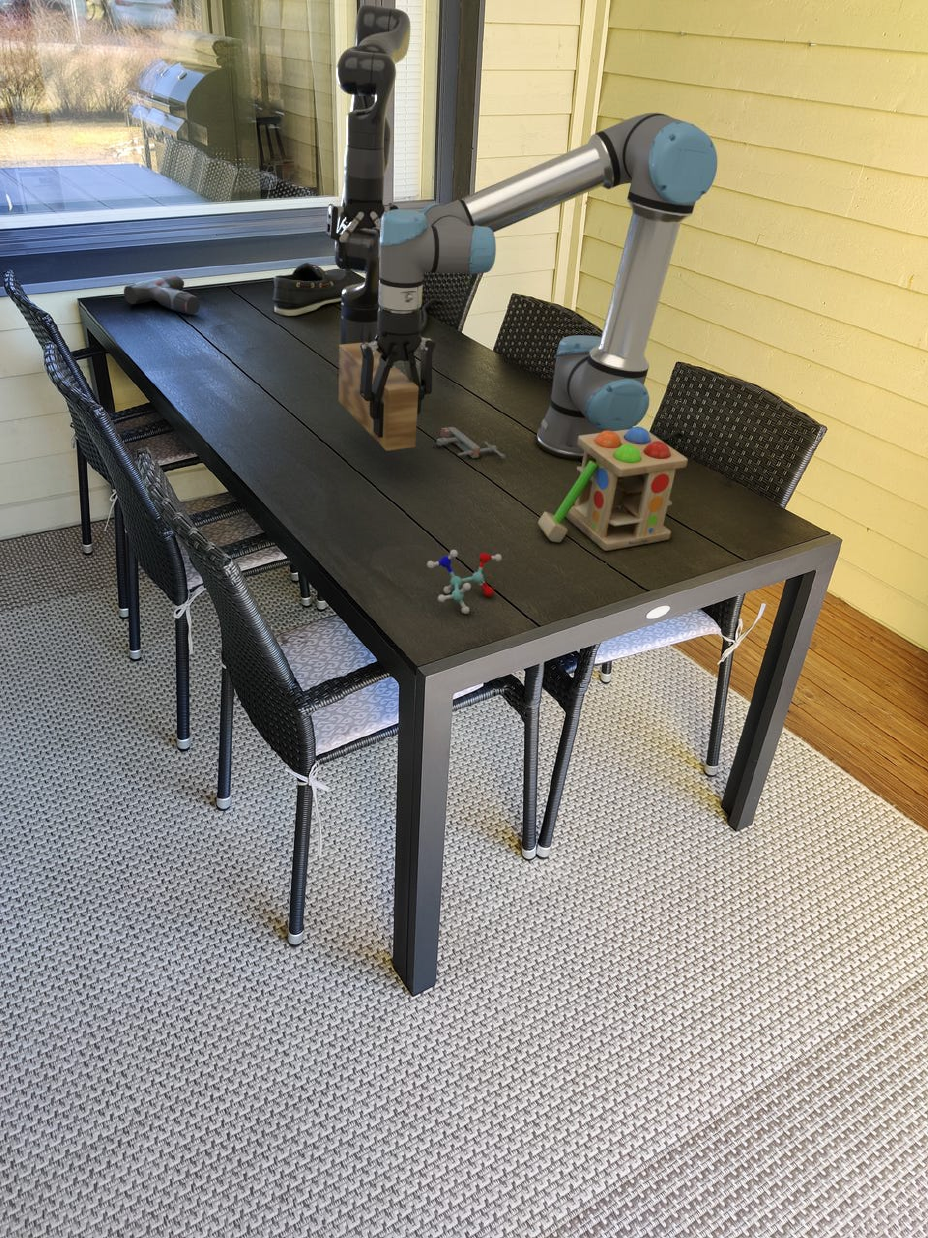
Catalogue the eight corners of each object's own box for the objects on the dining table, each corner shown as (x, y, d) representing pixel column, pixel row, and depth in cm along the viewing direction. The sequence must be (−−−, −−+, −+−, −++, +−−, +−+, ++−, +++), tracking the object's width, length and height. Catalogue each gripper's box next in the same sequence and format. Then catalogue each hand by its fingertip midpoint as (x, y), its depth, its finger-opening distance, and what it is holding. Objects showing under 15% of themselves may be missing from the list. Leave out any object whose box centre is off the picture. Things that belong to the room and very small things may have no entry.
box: (338, 401, 197) (339, 344, 190) (365, 398, 199) (367, 342, 193) (386, 450, 179) (388, 390, 173) (415, 446, 182) (418, 386, 175)
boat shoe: (367, 296, 285) (368, 259, 280) (292, 317, 262) (291, 278, 256) (333, 288, 291) (332, 251, 286) (256, 308, 267) (254, 269, 262)
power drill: (228, 285, 263) (174, 269, 271) (176, 299, 250) (121, 282, 258) (229, 305, 266) (176, 289, 274) (178, 320, 253) (123, 303, 261)
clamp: (428, 429, 204) (470, 423, 208) (427, 439, 205) (469, 432, 209) (464, 459, 193) (507, 451, 198) (463, 469, 194) (506, 461, 199)
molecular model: (493, 609, 147) (472, 545, 146) (437, 624, 151) (416, 563, 149) (514, 592, 158) (494, 533, 156) (461, 607, 161) (442, 549, 160)
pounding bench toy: (563, 559, 168) (578, 464, 158) (523, 521, 178) (535, 429, 168) (671, 539, 177) (692, 448, 167) (627, 503, 188) (644, 416, 178)
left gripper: (336, 176, 181) (335, 266, 190) (406, 176, 187) (402, 263, 196) (321, 168, 186) (321, 256, 195) (390, 168, 192) (387, 253, 201)
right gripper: (356, 317, 162) (354, 446, 175) (458, 310, 170) (448, 434, 183) (340, 304, 167) (339, 430, 181) (439, 297, 175) (431, 418, 188)
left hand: (362, 259), depth 196 cm, fingers open, 8 cm apart
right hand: (394, 432), depth 182 cm, fingers closed on box, 6 cm apart
